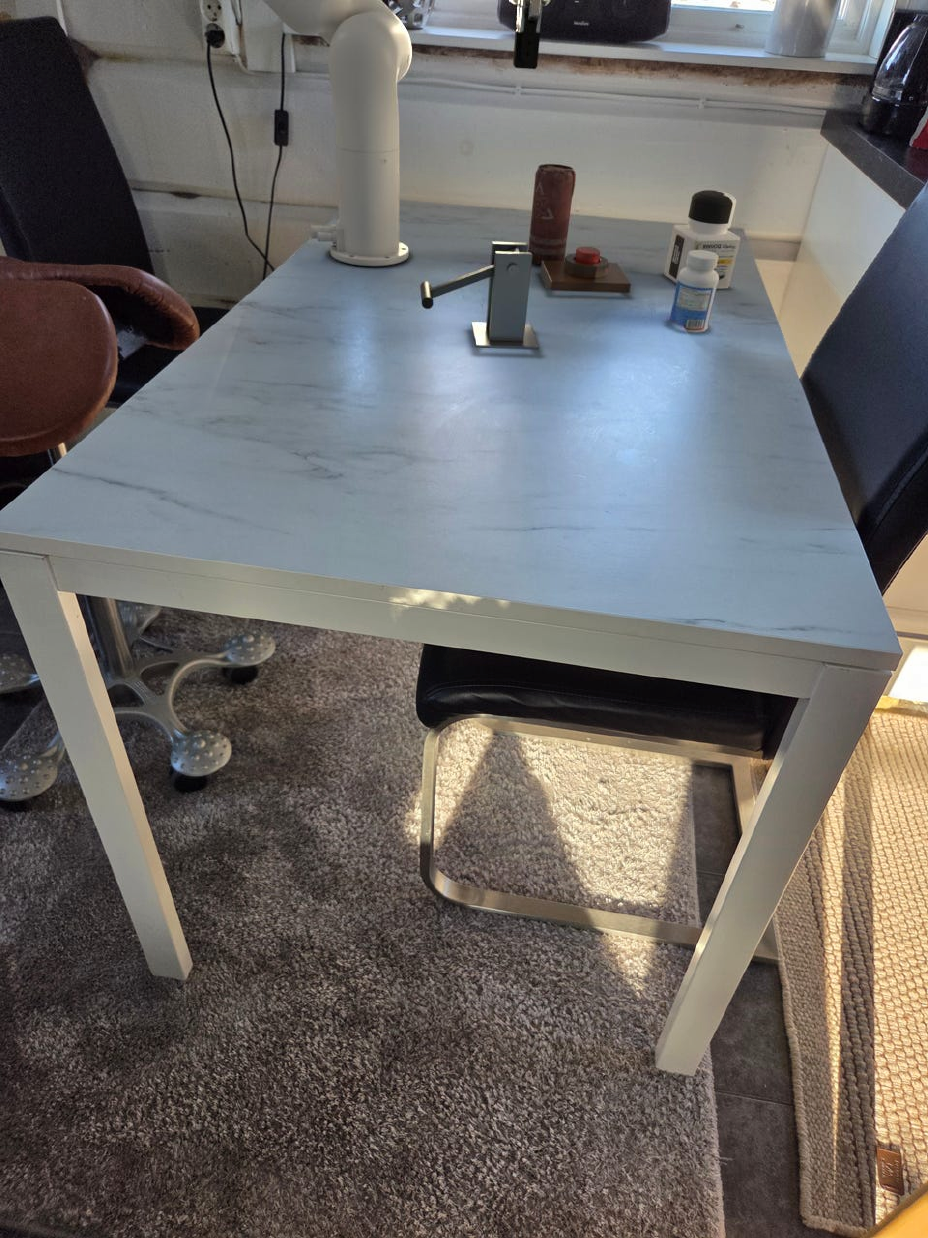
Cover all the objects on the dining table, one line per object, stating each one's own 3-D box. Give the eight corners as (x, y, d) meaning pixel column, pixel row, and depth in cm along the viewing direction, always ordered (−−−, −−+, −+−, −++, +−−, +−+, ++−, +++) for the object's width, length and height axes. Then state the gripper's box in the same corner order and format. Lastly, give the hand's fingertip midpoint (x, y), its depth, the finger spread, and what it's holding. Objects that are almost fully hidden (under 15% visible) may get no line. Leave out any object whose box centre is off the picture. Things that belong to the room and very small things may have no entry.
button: (577, 265, 124) (578, 252, 123) (573, 257, 127) (574, 245, 125) (600, 266, 124) (602, 253, 123) (596, 258, 127) (597, 246, 126)
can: (563, 269, 134) (575, 172, 125) (524, 264, 135) (534, 168, 126) (567, 258, 138) (579, 165, 130) (529, 254, 139) (539, 160, 130)
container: (684, 290, 129) (704, 199, 120) (662, 274, 134) (680, 186, 126) (728, 289, 130) (751, 199, 122) (705, 273, 136) (725, 186, 128)
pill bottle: (679, 316, 119) (695, 245, 113) (713, 326, 117) (731, 254, 111) (661, 326, 116) (676, 253, 110) (695, 336, 114) (713, 262, 107)
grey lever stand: (475, 354, 105) (482, 256, 97) (470, 330, 111) (476, 237, 103) (538, 356, 105) (549, 258, 98) (529, 332, 111) (539, 239, 104)
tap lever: (425, 314, 102) (418, 295, 100) (423, 297, 106) (417, 279, 105) (527, 276, 100) (521, 256, 98) (521, 261, 104) (515, 242, 103)
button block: (549, 296, 123) (553, 268, 121) (540, 274, 131) (543, 248, 128) (628, 298, 124) (633, 271, 122) (614, 277, 132) (618, 250, 129)
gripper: (503, -109, 109) (492, 59, 120) (517, -113, 97) (503, 73, 109) (559, -104, 109) (543, 62, 121) (579, -108, 98) (560, 76, 109)
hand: (524, 67), depth 115 cm, fingers closed
